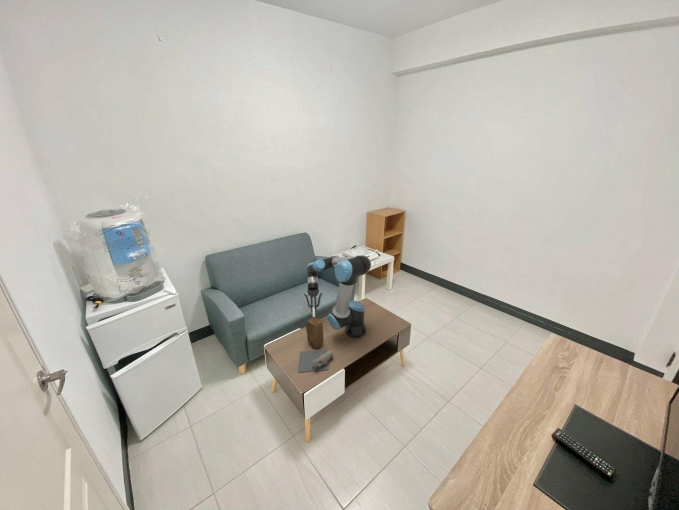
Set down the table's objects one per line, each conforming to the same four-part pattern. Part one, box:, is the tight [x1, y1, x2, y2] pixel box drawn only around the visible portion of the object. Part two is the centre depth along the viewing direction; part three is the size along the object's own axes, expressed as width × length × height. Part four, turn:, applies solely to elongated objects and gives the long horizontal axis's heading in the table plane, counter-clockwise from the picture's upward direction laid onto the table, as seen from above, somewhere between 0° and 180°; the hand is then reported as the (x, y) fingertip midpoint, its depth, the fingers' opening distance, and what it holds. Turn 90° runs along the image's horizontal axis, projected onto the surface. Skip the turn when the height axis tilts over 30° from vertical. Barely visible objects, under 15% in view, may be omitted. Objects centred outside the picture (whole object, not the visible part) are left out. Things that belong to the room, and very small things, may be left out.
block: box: [305, 316, 324, 350], centre depth 180 cm, size 11×8×20 cm
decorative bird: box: [312, 350, 334, 372], centre depth 166 cm, size 5×16×8 cm, turn 138°
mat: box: [298, 349, 329, 374], centre depth 170 cm, size 18×17×1 cm
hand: (314, 317), depth 187 cm, fingers closed
